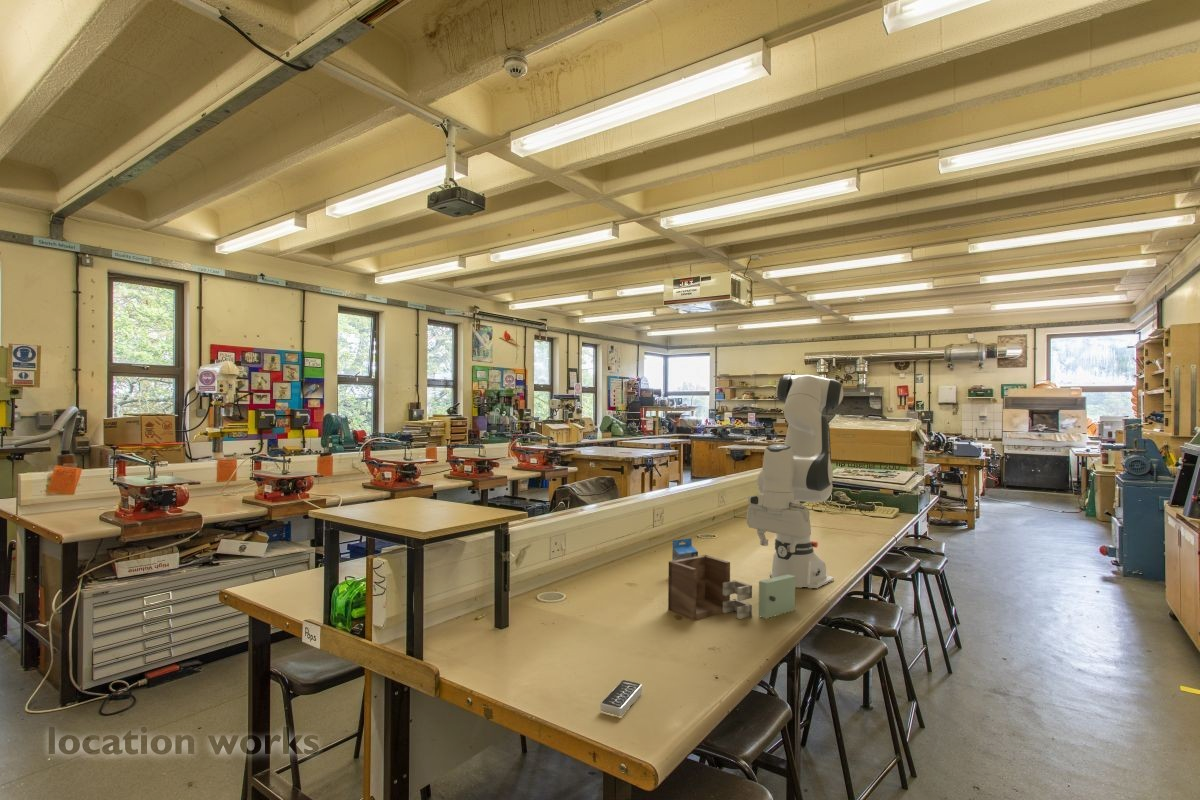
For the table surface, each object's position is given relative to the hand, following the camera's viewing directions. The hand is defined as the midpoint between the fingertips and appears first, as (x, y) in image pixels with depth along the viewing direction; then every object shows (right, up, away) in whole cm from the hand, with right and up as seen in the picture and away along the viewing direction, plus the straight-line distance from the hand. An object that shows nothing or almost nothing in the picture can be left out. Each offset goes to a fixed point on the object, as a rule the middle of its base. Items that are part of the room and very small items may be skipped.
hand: (777, 548), depth 165 cm
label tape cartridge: (-21, -19, +37) cm, 47 cm away
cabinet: (-20, -18, -1) cm, 27 cm away
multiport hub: (-47, -17, -53) cm, 73 cm away
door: (0, -19, 0) cm, 19 cm away
